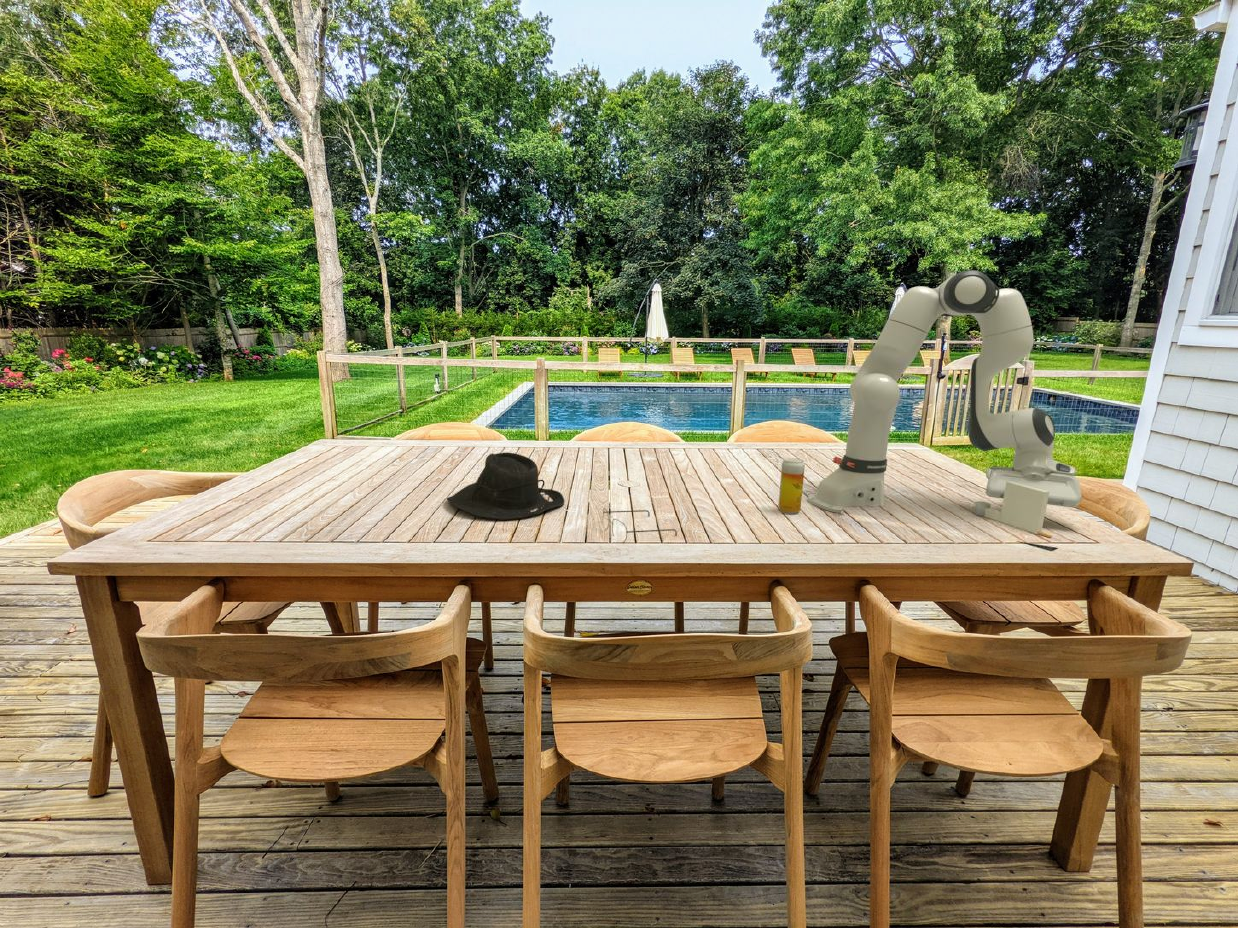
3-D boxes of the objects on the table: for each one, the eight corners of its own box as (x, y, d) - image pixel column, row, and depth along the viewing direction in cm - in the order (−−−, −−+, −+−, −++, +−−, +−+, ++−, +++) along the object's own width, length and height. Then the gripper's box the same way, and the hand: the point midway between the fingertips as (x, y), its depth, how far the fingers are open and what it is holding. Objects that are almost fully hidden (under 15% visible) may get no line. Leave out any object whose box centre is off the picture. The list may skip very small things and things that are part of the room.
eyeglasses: (598, 524, 146) (598, 505, 145) (649, 517, 152) (649, 500, 151) (621, 545, 132) (621, 525, 131) (677, 537, 138) (678, 518, 137)
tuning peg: (970, 512, 156) (977, 474, 153) (980, 511, 157) (986, 474, 154) (1045, 538, 137) (1054, 495, 134) (1056, 537, 138) (1065, 494, 135)
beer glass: (801, 515, 155) (806, 463, 152) (778, 513, 156) (783, 461, 153) (798, 509, 161) (803, 458, 157) (777, 507, 162) (781, 457, 158)
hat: (532, 482, 185) (531, 440, 182) (581, 511, 156) (582, 462, 153) (434, 495, 169) (432, 449, 166) (469, 530, 140) (467, 475, 137)
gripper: (988, 459, 152) (985, 502, 146) (1083, 468, 143) (1083, 515, 137) (985, 471, 157) (981, 513, 151) (1076, 481, 147) (1076, 527, 142)
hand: (1030, 514), depth 144 cm, fingers closed
